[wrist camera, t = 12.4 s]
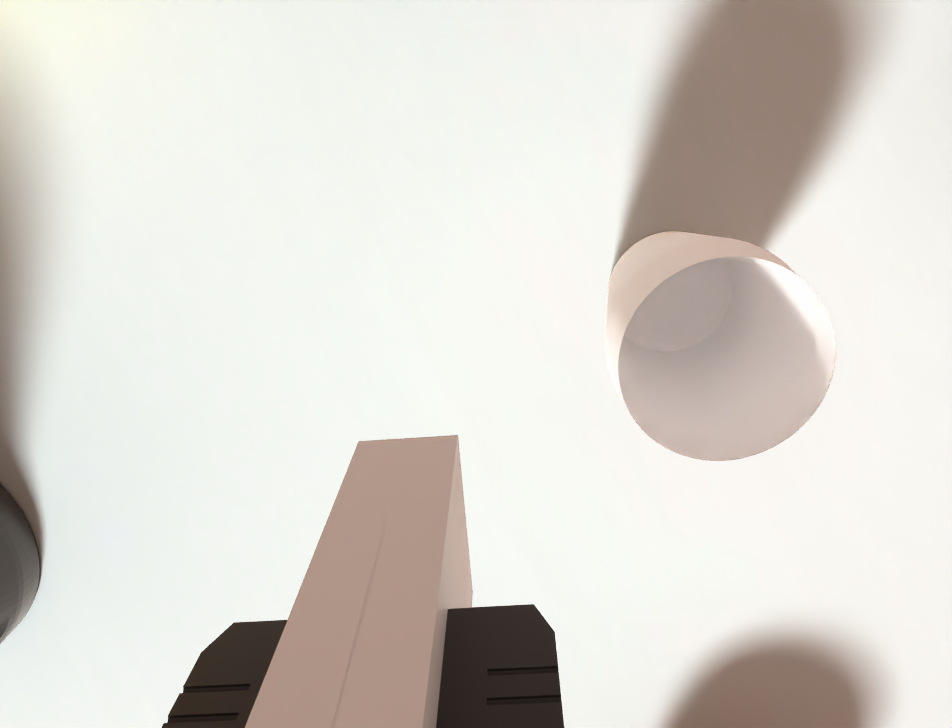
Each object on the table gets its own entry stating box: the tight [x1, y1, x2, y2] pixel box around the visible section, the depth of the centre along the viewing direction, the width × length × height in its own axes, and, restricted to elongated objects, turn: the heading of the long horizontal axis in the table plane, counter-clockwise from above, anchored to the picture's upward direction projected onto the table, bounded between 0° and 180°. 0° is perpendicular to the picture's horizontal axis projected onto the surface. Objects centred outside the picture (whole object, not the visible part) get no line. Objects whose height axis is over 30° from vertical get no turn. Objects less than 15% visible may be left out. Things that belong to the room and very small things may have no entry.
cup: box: [604, 231, 836, 461], centre depth 39 cm, size 9×9×12 cm
